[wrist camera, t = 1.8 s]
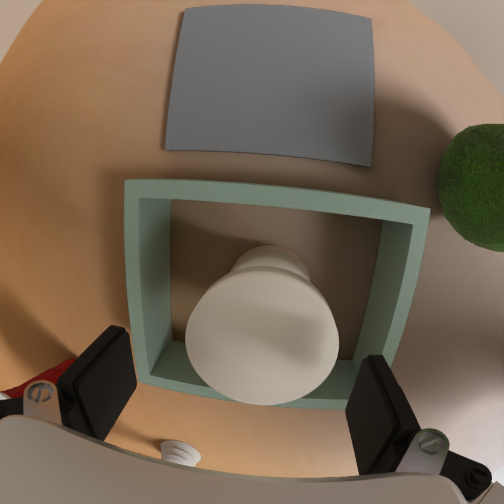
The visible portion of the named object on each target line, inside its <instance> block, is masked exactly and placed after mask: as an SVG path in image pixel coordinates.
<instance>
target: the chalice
mask: <svg viewBox="0 0 504 504" xmlns="http://www.w3.org/2000/svg"><path fill="white" fill-rule="evenodd" d="M160 447H161V455H162V458H161V459H162V460H165V461H169V462H173V463H177V464H182V465H186V466H191V467H193V466H195V465H196V463H197V462H199V461H200V459H201V455H200V453H199V452H198V451H197V450H196V449H195V448H193V447H192V446H190V445H188V444H186V443H183V442H180V441H176V440H166V441H163V442H162V443H161V446H160Z"/></svg>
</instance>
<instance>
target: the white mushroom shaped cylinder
mask: <svg viewBox="0 0 504 504" xmlns="http://www.w3.org/2000/svg"><path fill="white" fill-rule="evenodd" d="M185 343H186V350H187V354H188V357H189V359H190V362H191V364H192V366H193V367H194V369H195V371H196V372H197V373H198V375H199V376H200V377H201V378H202V379H203V380H204V381H205V382H206V383H207V384H208V385H209V386H210V387H212V388H213V389H214V390H216V391H217V392H219V393H220V394H222V395H224V396H226V397H228V398H231V399H233V400H236V401H239V402H243V403H247V404H254V405H276V404H282V403H286V402H290V401H293V400H296V399H299V398H301V397H303V396H305V395H307V394H308V393H310V392H311V391H313V390H314V389H316V388H317V387H318V386H319V385H320V384H321V383H322V382H323V381H324V380H325V379H326V378H327V376H328V375H329V374H330V372H331V370H332V368H333V367H334V365H335V362H336V359H337V355H338V350H339V337H338V331H337V328H336V324H335V321H334V318H333V315H332V312H331V309H330V307H329V305H328V303H327V301H326V299H325V298H324V296H323V295H322V293H321V292H320V291H319V290H318V289H317V288H316V287H315V286H314V285H313V284H312V283H311V279H310V276H309V272H308V269H307V267H306V265H305V264H304V262H303V261H302V259H301V258H300V257H299V256H298V255H296V254H295V253H294V252H292V251H291V250H289V249H287V248H285V247H281V246H277V245H262V246H257V247H255V248H252V249H250V250H248V251H247V252H245V253H244V254H243V255H242V256H241V257H239V259H238V260H237V261H236V263H235V264H234V266H233V268H232V270H231V271H230V273H229V274H227V275H225V276H223V277H221V278H220V279H219V280H217V281H216V282H215V283H213V284H212V285H211V286H210V287H209V288H208V290H207V291H206V292H205V293H204V295H203V296H202V298H201V299H200V301H199V302H198V304H197V305H196V307H195V308H194V310H193V312H192V313H191V315H190V318H189V320H188V323H187V327H186V332H185Z"/></svg>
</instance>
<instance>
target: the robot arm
mask: <svg viewBox="0 0 504 504" xmlns="http://www.w3.org/2000/svg"><path fill="white" fill-rule="evenodd" d="M57 381H58V382H57V383H56V384H55V385H54V384H53V383H51V382H50V381H46V380H38V381H34V382H32V383H30V384H29V385H28V386H27V387H26V388H25V390H24V395H23V397H18V398H11V399H4V400H0V504H504V486H502V485H501V484H500V483H498V482H497V481H496V482H495V483H492V482H491V480H492V475H491V472H490V470H489V469H488V468H487V467H486V466H485V465H483V464H481V463H478V462H476V461H473V460H471V459H468V458H466V457H463V456H461V455H459V454H456V453H454V452H452V451H449V440H448V438H447V437H446V435H444V434H443V433H442V432H441V431H439V430H436V429H432V428H426V429H423V430H421V428H420V426H419V423H418V421H417V419H416V417H415V415H414V413H413V411H412V409H411V407H410V405H409V403H408V401H407V399H406V396H405V394H404V392H403V390H402V389H401V387H400V386H399V385H398V383H397V381H396V379H395V377H394V375H393V373H392V371H391V369H390V367H389V365H388V363H387V362H386V360H385V358H384V356H383V355H368V356H367V358H364V359H363V360H362V363H361V366H360V369H359V372H358V375H357V378H356V381H355V383H354V386H353V389H352V392H351V395H350V397H349V400H348V402H347V405H346V410H345V413H346V418H347V422H348V426H349V431H350V435H351V439H352V444H353V448H354V453H355V457H356V462H357V467H358V472H359V476H346V477H324V478H285V477H266V476H254V475H243V474H235V473H227V472H220V471H214V470H207V469H202V468H196V467H191V466H186V465H182V464H177V463H173V462H169V461H165V460H161V459H157V458H153V457H150V456H146V455H143V454H139V453H136V452H133V451H130V450H126V449H123V448H120V447H118V446H115V445H112V444H109V443H106V442H103V441H104V440H105V438H106V437H107V435H108V433H109V432H110V430H111V428H112V427H113V425H114V423H115V422H116V420H117V418H118V417H119V415H120V413H121V412H122V410H123V409H124V407H125V405H126V404H127V402H128V400H129V399H130V397H131V395H132V394H133V392H134V391H135V389H136V386H137V380H136V374H135V369H134V363H133V357H132V351H131V344H130V337H129V333H128V332H126V330H125V328H123V327H119V326H114V325H111V326H109V327H108V328H107V329H106V330H105V331H104V332H103V333H102V334H101V335H100V336H99V337H98V338H97V339H96V340H95V341H94V342H93V343H92V344H91V345H90V346H89V347H88V348H87V349H86V350H85V351H84V352H83V353H82V354H81V355H80V356H79V357H78V358H77V359H76V360H75V361H74V362H73V363H72V364H71V365H70V366H69V367H68V368H67V370H66V371H65V372H64V373H63V374H62V375H61V376H60V377H59V378H58V379H57Z"/></svg>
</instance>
